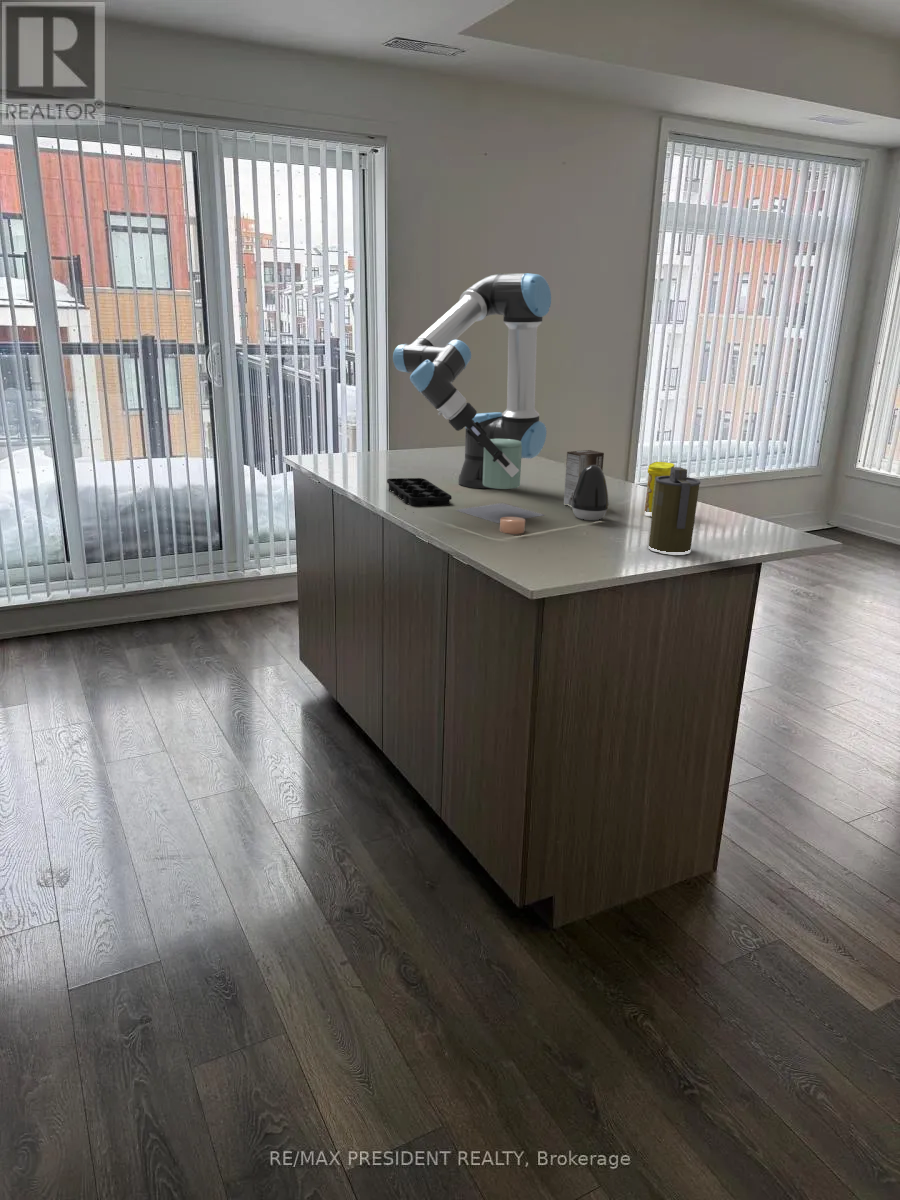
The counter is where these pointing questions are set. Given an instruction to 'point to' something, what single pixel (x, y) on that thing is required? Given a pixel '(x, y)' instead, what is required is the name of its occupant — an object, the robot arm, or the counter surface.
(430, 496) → the egg carton
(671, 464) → the canister
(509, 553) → the counter surface
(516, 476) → the faceted lidded jar
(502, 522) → the pink rounded puck
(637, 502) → the counter surface
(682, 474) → the canister
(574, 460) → the coffee box
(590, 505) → the black egg-shaped device
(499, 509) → the mat
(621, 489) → the counter surface
